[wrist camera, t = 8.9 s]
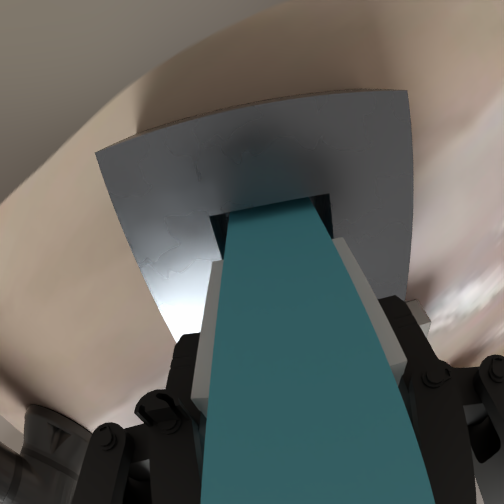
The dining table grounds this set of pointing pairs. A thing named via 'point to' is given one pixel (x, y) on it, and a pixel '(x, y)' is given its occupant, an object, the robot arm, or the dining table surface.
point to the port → (265, 187)
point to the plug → (301, 376)
